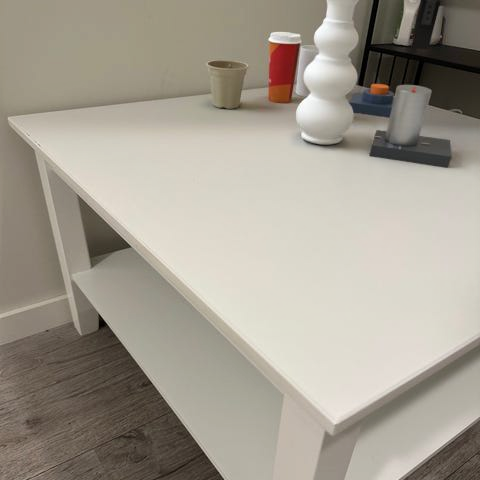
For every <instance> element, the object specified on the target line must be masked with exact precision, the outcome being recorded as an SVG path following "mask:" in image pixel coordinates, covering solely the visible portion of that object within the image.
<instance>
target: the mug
mask: <svg viewBox="0 0 480 480" xmlns="http://www.w3.org/2000/svg"><path fill="white" fill-rule="evenodd" d="M318 54H319V49H318V48H317V46H316V45H315V44H314V45H313V44H309V45H308V44H306V45H300V48H299V56H298V65H297V67H298V68H297V76H296V84H295V94H296V95H298V96H300V97H302V98H303V97H304V98H307V97H308V95H309V94H311V92H310V90H309V89H308V88H307V86H306V85H305V82H304V72H305V69H306V68H307V66H308V65H309V64H310V63H311V62H312V61H313V60H314V59H315V57H316V55H318Z"/></svg>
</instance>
